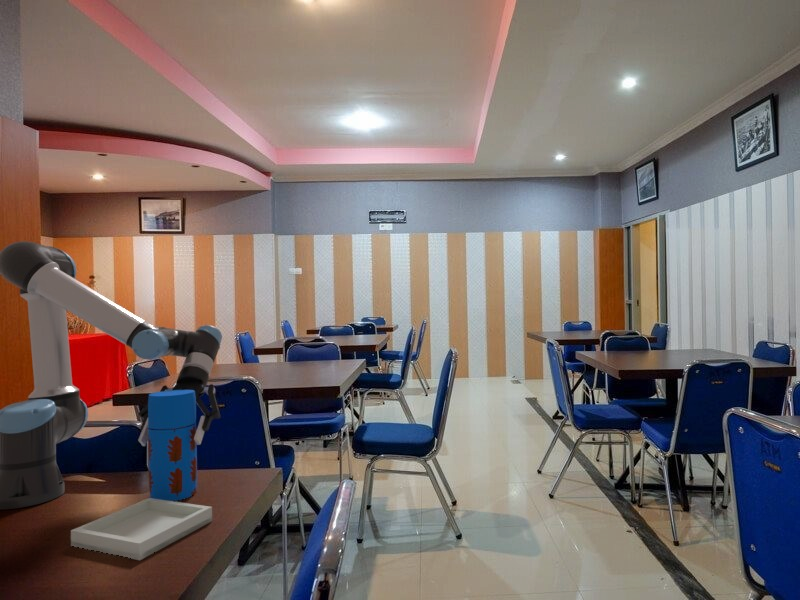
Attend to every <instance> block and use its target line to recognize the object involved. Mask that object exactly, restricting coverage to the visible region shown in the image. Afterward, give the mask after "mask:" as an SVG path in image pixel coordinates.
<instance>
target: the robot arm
mask: <svg viewBox="0 0 800 600" xmlns="http://www.w3.org/2000/svg"><path fill="white" fill-rule="evenodd" d="M0 275H1V276H2V278H3V279H4V280H6V281H7V282H9V284H12V285H13V286H16V287H18V288H19V297H21V298H23V299H24V300H25V301H26V302H27V309H28V310H27V311H28V322H29V323H28V324H29V334H30V335H29V337H30V349H31V359H32V361H31V362H32V371H33V385H34V389H33V391H32V392H31V393H30V394H29V395H28V397H27V399H28V400H22V401H19V402H14V403H12V404H8V405H6V406H4V407H2V408H1V409H0V510H1V511H3V510H12V509H13V510H14V509H15V510H16V509H22V508H26V507H31V506H36V505H39V504H43V503H47V502H49V501H50V502H51V501H53V500H55V499H57V498H59V497H60V496H62V495H63V494H64V493H65V492H66V491H65V488H66V487H65V486H66V485H65V481H64V478H63V476H62V474H61V471H60V469H59V466H58V464H57V444H60V443H61V442H64V441H67V440H69V439H71V438H73V437H75V435H77V434H78V433H79V432H81V431H82V430H83V429H84V427H85V425H87V421H88V417H89V410H88V407H87V404H86V402H84V401H83V399H81V397H80V388H78V387H77V386H75V385H74V384H73V377H72V365H71V363H72V362H71V354H70V342H69V340H70V339H69V329H68V317H67V311H68V312H69V313H70V314H72V315H74V316H76V317H78V318H80V319H81V320H83V321H85V322H86V323H87V324H89V325H91V326H93V327H95V328H97V329H98V330H100V331H102V332H103V333H104V334H106V335H108V336H110V337H112V338H114V339H116V340H117V341H119V342H120V343H122V344H123V345H125V346H126V347H129V348H130V349H131V350H132V352H133V353H134V354H135V356H136V357H138V358H140V359H142V360H151V361H152V360H158V359H160V358H162V357H168V356H171V357H172V356H173V357H181V358H185V359H184V362H183V363H182V366H181V369H180V371H179V374H178V376H177V380H176V383H175V385H174V387H168V386H167V385H162V387H161V389H160V390H159V392H161V391H170V390H194V391H195V396H196V405H197V406H198V407H199V409H200V410H201V412H202V413H203V415H201V416H200V419H199V422H198V426H197V427H196V434H195V437H194V440H195V442H196V443H197V446H199V445H201V444H202V441H203V438H204V435H205V432H208V431H209V429H210V426H211V424H212V421H213V420H214V419H218V420H219V419H220V418H221V413H220V410H219V406H218V402H217V399H216V393H217V390H216V388H215V386H214V384H213V383H212V384H209V385H208V386H207V384H208V381H209V379H210V376H211V372H212V370H213V367H214V364H215V361H216V357H217V355H218V352H219V350H220V348H221V343H222V339H223V335H222V332H221V330H220V329H218V328H217V327H216V326H214V325H209V324H205V325H200V326H198V328H197V329H196V331H191V330H187V331H186V330H181V329H175V328H169V327H166V326H165V327H164V326H155V325H152V324H151V323H149V322H148V321H146V320H144V319H143V318H141V317H139V316H138V315H136V314H134V313H133V312H131V311H129V310H127V309H126V308H124V307H122V306H121V305H120V304H117V303H115V302H114V301H112V300H110V299H109V298H107V297H106V296H104V295H102V294H100V293H99V292H98V291H96V290H94V289H92V288H91V287H89V286H87V285H86V284H85V283H82V282H81V281H79V280H77V279H76V277H77V265H76V263H75V261H74V259H73V258H72V257H71V256H70V255H69V254H68V253H67V252H65V251H63V250H61V249H59V248H57V247H54V246H51V245H50V246H49V245H45V244H41V243H37V242H33V241H28V240H27V241H25V240H23V241H22V240H21V241H15V242H12V243H10V244H8V245H6V246H5V247H4V248H3V249H1V250H0ZM204 394H206V395H207V396H208V398H209V404H210V407H211V409H212V411H210V410H209V409H208V408H207V406H206V404H205V403H204V401H203V400H202V399H201V397H202V396H203V395H204ZM138 416H139V417H140V419H141V420H142V423H141V426H140V431H141V432H140V435H139V437H138V439H137V440H138V442H139V444H141V446H142V447H146V445H147V444H148V442H149V439H148V403H147V404H146V405H145V406H144V407H143V408H142V409H141V410H140V411H139V412H138Z"/></svg>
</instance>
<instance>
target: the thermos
mask: <svg viewBox="0 0 800 600" xmlns="http://www.w3.org/2000/svg"><path fill="white" fill-rule="evenodd" d="M147 398H148V400H147V404H148V482H149V483H148V486H149V498H153V499H160V500H167V501H175V502H179V501H178V500H180V501H183V500H182V499H184V498H187V499H189V498H191V497H193V496H195V495H196V494H197V491H198V489H197V488H198V454H197V453H198V451H197V450H198V449H197V446H198V445H197V443H196V442H195V440H194V437H195V434H196V431H197V403H196V396H195V391H194V390H170V391H161V392H160V391H156V392H151V393H149V394H148V397H147ZM195 493H196V494H195ZM194 494H195V495H194ZM192 495H193V496H192ZM190 496H191V497H190ZM188 497H189V498H188ZM184 500H185V499H184Z"/></svg>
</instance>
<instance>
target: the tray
mask: <svg viewBox="0 0 800 600" xmlns="http://www.w3.org/2000/svg"><path fill="white" fill-rule="evenodd" d="M211 522H213V506H207V505H201V504H193V503H187V502H181V501H175V502H174V501H167V500H160V499H153V498H150V497H148V498H145V499H143V500H141V501H139V502H136V503H133V504H131V505H128V506H126V507H123V508H122V509H121V508H120V509H119V510H117V511H114V512H111V513H109V514H107V515H105V516H102V517H100V518H97V519H95V520H93V521H90V522H87V523H86V524H83V525H80V526H78V527H75V528H73V529H71V530H70V547H72V546H74V547H73V548H77V547H79V548H78V549H82V548H84V549H83V550H87V549H88V550H87V551H91V550H94V551H93V552H96V551H100V552H99V553H101V552H103V554H106V553H108V554H107V555H111V554H113V555H112V556H116V555H119V556H118V557H120V556H123V557H122V558H125V557H128V558H127V559H130V558H131V560H136V561H141V560H143V559H145V558H147V557H149V556H151V555H153V554H154V552H155V553H157V552H158V551H160V550H162V549H164V548H165V547H167V546H169V545H171V544H172V543H175V542H177V541H178V540H180V539H182V538H184V537H185V536H188V535H189V534H191V533H193V532H195V531H197V530H198V529H200V528H203V527H204V526H206V525H208V524H210V523H211Z"/></svg>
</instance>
